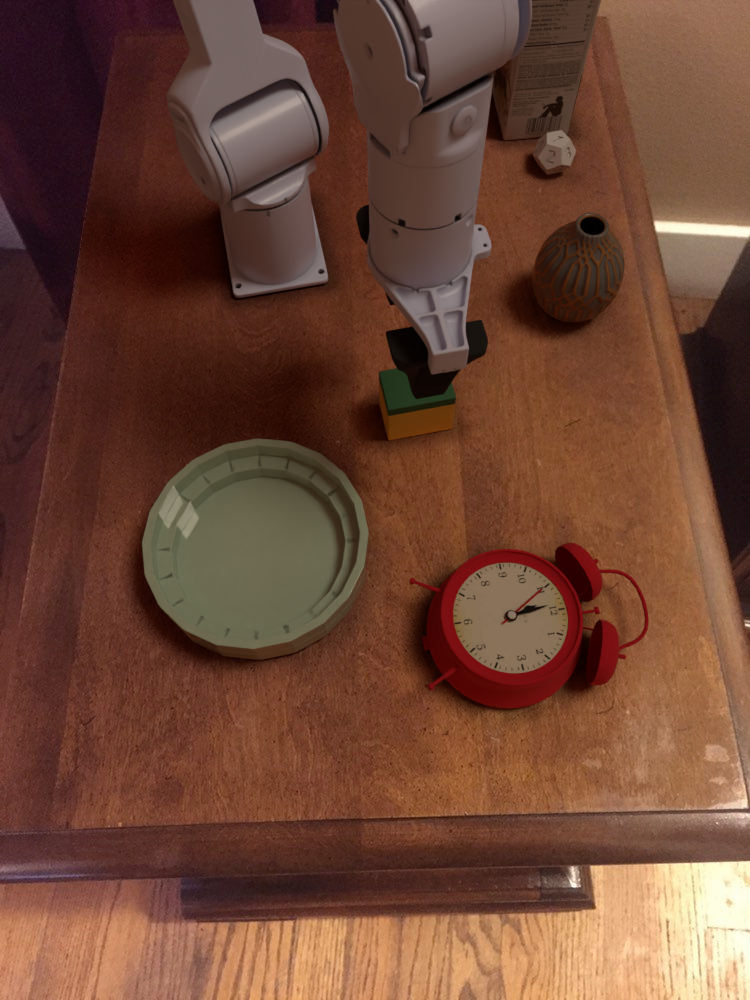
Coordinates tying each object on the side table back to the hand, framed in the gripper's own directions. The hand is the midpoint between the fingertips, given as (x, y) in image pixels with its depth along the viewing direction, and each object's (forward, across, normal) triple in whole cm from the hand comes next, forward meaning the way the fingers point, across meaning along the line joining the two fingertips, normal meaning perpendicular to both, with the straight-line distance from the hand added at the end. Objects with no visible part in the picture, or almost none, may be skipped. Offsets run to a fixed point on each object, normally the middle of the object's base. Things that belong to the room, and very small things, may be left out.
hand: (415, 344), depth 55 cm
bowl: (+9, -9, +13) cm, 18 cm away
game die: (+10, +23, -18) cm, 31 cm away
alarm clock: (+10, -18, -4) cm, 21 cm away
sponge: (+9, 0, 0) cm, 9 cm away
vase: (+10, +8, -15) cm, 20 cm away
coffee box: (+10, +31, -18) cm, 37 cm away
